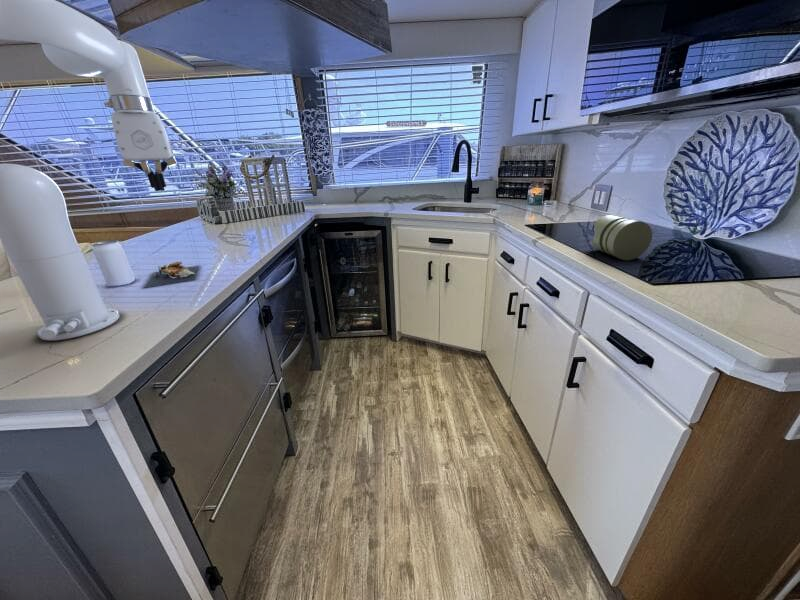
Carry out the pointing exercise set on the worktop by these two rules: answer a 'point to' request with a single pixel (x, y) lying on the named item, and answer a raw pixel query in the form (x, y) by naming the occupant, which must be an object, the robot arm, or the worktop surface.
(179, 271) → the pastry
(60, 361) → the worktop surface
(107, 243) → the can
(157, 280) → the slate mat
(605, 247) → the piston
